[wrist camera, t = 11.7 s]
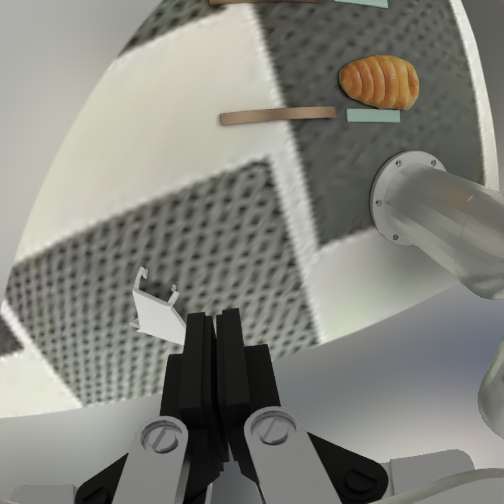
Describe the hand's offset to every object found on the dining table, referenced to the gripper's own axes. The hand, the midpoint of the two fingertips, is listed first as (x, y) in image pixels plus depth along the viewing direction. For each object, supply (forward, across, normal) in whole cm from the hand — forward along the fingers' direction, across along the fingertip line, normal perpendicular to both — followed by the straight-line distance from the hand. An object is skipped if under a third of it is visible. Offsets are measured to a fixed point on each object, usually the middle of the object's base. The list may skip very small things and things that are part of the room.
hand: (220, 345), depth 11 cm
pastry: (+28, -20, -10) cm, 35 cm away
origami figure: (+27, +9, +15) cm, 32 cm away
